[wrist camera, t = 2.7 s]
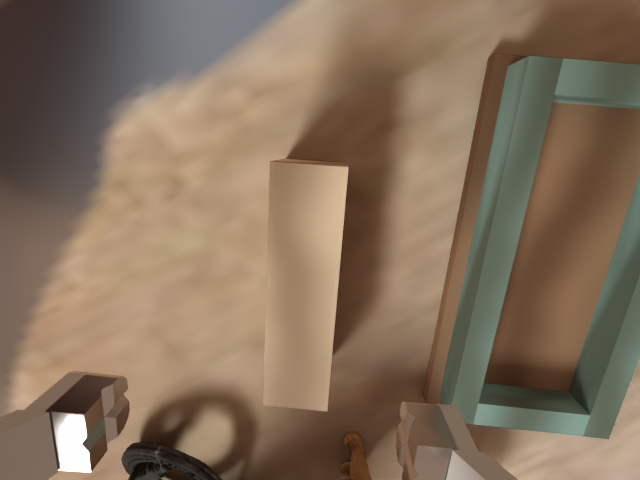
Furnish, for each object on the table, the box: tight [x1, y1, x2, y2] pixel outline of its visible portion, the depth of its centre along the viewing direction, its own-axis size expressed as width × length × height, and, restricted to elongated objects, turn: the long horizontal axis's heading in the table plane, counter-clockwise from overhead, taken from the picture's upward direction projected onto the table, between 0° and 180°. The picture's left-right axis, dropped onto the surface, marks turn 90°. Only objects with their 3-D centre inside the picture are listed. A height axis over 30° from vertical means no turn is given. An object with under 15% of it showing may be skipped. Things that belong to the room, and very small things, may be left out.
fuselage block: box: [263, 158, 349, 411], centre depth 19 cm, size 4×13×5 cm, turn 176°
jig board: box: [423, 54, 640, 439], centre depth 19 cm, size 11×21×3 cm, turn 175°
